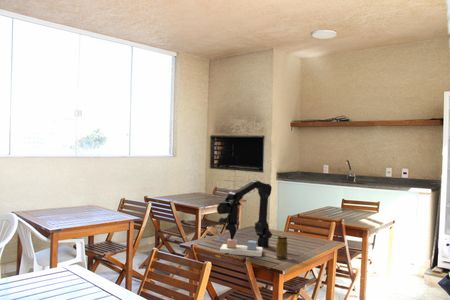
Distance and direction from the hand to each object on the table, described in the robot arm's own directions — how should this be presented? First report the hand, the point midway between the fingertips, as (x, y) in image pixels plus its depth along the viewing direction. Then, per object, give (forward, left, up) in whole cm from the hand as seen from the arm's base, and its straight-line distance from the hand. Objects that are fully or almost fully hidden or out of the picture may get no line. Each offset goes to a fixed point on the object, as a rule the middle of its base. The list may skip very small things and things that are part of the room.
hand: (232, 239), depth 230 cm
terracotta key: (0, 0, -4) cm, 4 cm away
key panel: (-6, 0, -7) cm, 9 cm away
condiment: (-30, +5, -7) cm, 31 cm away
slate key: (-12, 0, -4) cm, 13 cm away
